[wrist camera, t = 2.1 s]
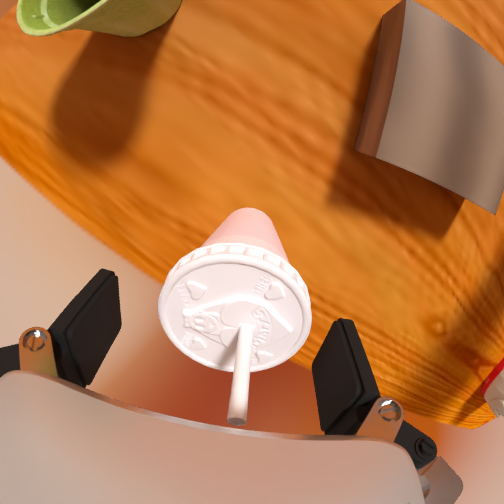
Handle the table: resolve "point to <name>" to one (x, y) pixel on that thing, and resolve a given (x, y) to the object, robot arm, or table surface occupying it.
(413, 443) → the robot arm
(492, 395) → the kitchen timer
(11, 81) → the table surface
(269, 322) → the smoothie
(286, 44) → the table surface
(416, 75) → the plinth
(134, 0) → the plant pot
